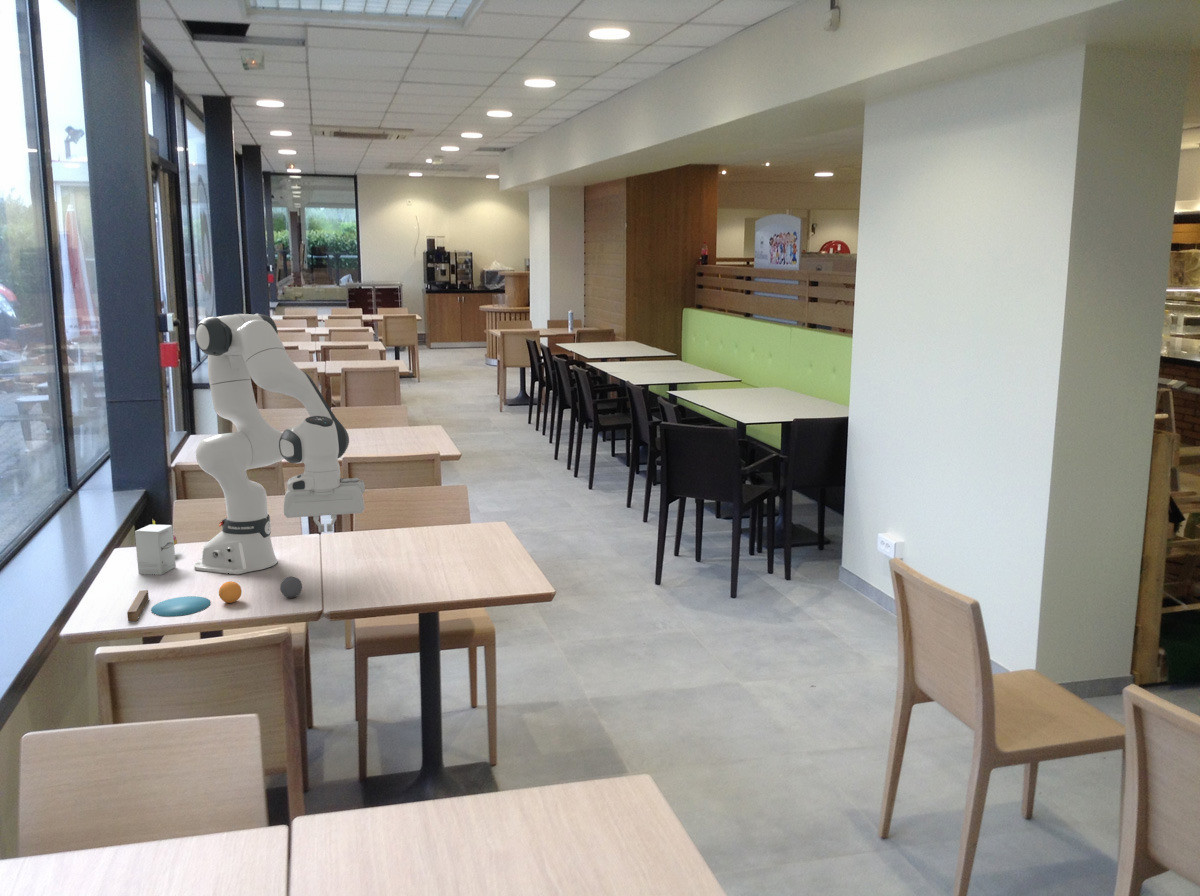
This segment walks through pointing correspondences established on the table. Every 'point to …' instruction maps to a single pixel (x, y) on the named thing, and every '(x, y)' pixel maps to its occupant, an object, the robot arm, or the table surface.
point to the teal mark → (180, 606)
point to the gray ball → (291, 587)
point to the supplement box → (155, 549)
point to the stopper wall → (138, 605)
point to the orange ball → (230, 592)
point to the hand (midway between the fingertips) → (325, 531)
